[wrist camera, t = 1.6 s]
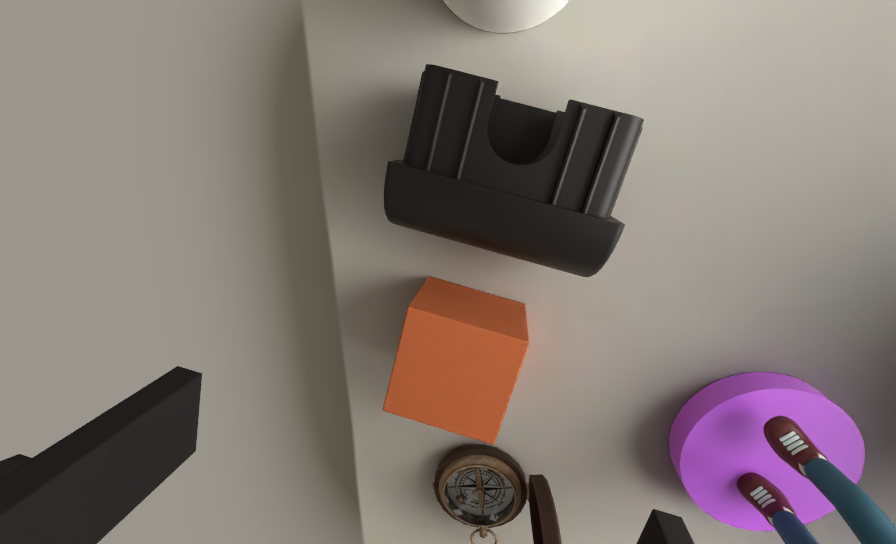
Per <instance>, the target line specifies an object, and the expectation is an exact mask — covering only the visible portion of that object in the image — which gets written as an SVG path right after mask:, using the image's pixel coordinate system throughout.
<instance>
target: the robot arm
mask: <svg viewBox="0 0 896 544" xmlns="http://www.w3.org/2000/svg"><path fill="white" fill-rule="evenodd" d="M201 379H202V373H198V372H195V371H192V370H189V369H185V368H182V367H179V366H177V367H176V368H174V369H172V370H171V371H169V372H168V373H166V374H165V375H163V376H161V377H160V378H158V379H157V380H155V381H153V382H152V383H150V384H149V385H147V386H146V387H144V388H142V389H141V390H139V391H138V392H136V393H134V394H133V395H131V396H130V397H128V398H127V399H125V400H124V401H122V402H120V403H119V404H117V405H115V406H114V407H112V408H111V409H109V410H108V411H106V412H104V413H103V414H101V415H100V416H98V417H96V418H95V419H93V420H92V421H90V422H89V423H87V424H85V425H84V426H82V427H81V428H79V429H77V430H76V431H74V432H73V433H71V434H70V435H68V436H66V437H65V438H63V439H62V440H60V441H58V442H57V443H55V444H54V445H52V446H51V447H49V448H47V449H46V450H45V451H43V452H41V453H39V454H38V455H37V456H35V457H33V458H30V457H27V456H24V455H21V454H19V455H16V456H13V457H10V458H8V459H5V460H2V461H0V544H97V543H98V542H99V541H100V540H101V539H102V538H103V537H104V536H105V535H107V533H108V532H110V531H111V530H112V529H113V528H114V527H115V526H116V525H117V524H118V523H119V522H120V521H121V520H123V519H124V518H125V517H126V516H127V515H128V514H129V513H130V512H131V511H132V510H133V509H134V508H135V507H136V506H137V505H138V504H140V503H141V502H142V501H143V500H144V499H145V498H146V497H147V496H148V495H149V494H150V493H151V492H152V491H153V490H154V489H155V488H157V487H158V486H159V485H160V484H161V483H162V482H163V481H164V480H165V479H166V478H167V477H168V476H169V475H170V474H172V473H173V472H174V471H175V470H176V469H177V468H178V467H179V466H180V465H181V464H182V463H183V462H184V461H185V460H186V459H188V457H190V456H191V455H192V454H193V453H194V452H195V451H196V440H197V428H198V416H199V403H200V391H201ZM637 544H694V542H693V540H692V538H691V536H690V534H689V532H688V530H687V528H686V526H685V524H684V521H683V519H682V517H678V516H675V515H672V514H668V513H665V512H662V511H658V510H655V509H653V510H652V512H651V514H650V517H649V519H648V521H647V523H646V525H645V527H644V529H643V531H642V533H641V535H640V538H639V540H638V542H637Z"/></svg>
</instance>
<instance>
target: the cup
mask: <svg viewBox="0 0 896 544" xmlns="http://www.w3.org/2000/svg"><path fill="white" fill-rule="evenodd" d="M443 1H444V3H445V4H446V5H447V6H448V8H449V9H450V10H451V11H452V12H453V13H454V14H455V15H457V16H458V17H459V18H460V19H462V20H463V21H465V22H466V23H468V24H470V25H472V26H474V27H476V28H479V29H481V30H485V31H488V32H495V33H513V32H519V31H523V30H527V29H530V28H532V27H535V26H537V25H539V24H541V23H543V22H545V21H546V20H548V19H549V18H551V17H552V16H553V15H555V14H556V13H557V12H559V11H560V10H561V9H562V8H563V7H564V6H565V5H566V4H567V3H568V2H569V0H443Z"/></svg>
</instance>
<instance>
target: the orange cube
mask: <svg viewBox="0 0 896 544" xmlns="http://www.w3.org/2000/svg"><path fill="white" fill-rule="evenodd" d="M528 345H529V338H528V329H527V319H526V310H525V304H523V303H520V302H516V301H513V300H509V299H506V298H502V297H499V296H496V295H492V294H489V293H485V292H482V291H478V290H475V289H471V288H468V287H464V286H461V285H458V284H454V283H451V282H447V281H444V280H440V279H437V278H433V277H430V276H428V278H427V279H426V281H425V282H424V284H423V285H422V287H421V288H420V290H419V291H418V293H417V294H416V296H415V297H414V299H413V300H412V302H411V303H410V305H409V306H408V309H407V313H406V317H405V321H404V325H403V329H402V333H401V337H400V341H399V346H398V350H397V354H396V358H395V362H394V366H393V370H392V374H391V378H390V382H389V386H388V390H387V394H386V398H385V402H384V406H383V411H386V412H389V413H392V414H396V415H399V416H402V417H405V418H409V419H412V420H415V421H418V422H421V423H425V424H428V425H431V426H434V427H437V428H441V429H444V430H447V431H450V432H454V433H457V434H460V435H463V436H466V437H470V438H473V439H476V440H479V441H482V442H486V443H489V444H492V445H494V443H495V440H496V438H497V435H498V432H499V429H500V426H501V423H502V420H503V417H504V414H505V411H506V409H507V406H508V403H509V400H510V397H511V394H512V391H513V388H514V385H515V382H516V380H517V377H518V374H519V371H520V368H521V365H522V362H523V359H524V356H525V353H526V351H527V348H528Z"/></svg>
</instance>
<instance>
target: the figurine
mask: <svg viewBox="0 0 896 544" xmlns="http://www.w3.org/2000/svg"><path fill="white" fill-rule="evenodd" d="M669 451H670V457H671V460H672V463H673V465H674V467H675V470H676V472H677V474H678V476H679V477H680V479H681V481H682V483H683V485H684V487H685V489H686V491H687V492H688V494H689V495H690V497H691V498H692V499H693V501H694V502H695V503H696V504H697V505H698V506H699V507H700V508H701V509H702V510H703V511H704V512H705V513H707V514H709V515H710V516H712V517H713V518H715V519H717V520H718V521H721V522H723V523H726V524H728V525H731V526H733V527H738V528H742V529H747V530H755V531H777V532H778V534H779V535H780V537H781V538H782V540H783V541H784V543H785V544H819V543H818V542H817V541H816V539H815V538H814V537H813V536H812V534H811V533H810V532H809V531H808V529H807V528H806V527H805V526H804V525H805V524H808V523H811V522H813V521H816V520H818V519H820V518H821V517H823V516H825V515H827V514H828V513H830V512H832V511H833V510H834V509H837V510H838V512H839V513H840V515H841V516H842V517H843V519H844V520H845V521H846V523H847V524H848V526H849V527H850V528H851V530H852V531H853V533H854V534H855V535H856V537H857V538H858V540H859V541H860V542H861V544H896V526H895V525H894V524H893V523H892V522H891V521H890V519H889V518H888V517H887V516H886V515H885V514H884V513H883V511H882V510H881V509H880V508H879V507H878V506H877V505H876V504H875V502H874V501H873V500H872V499H871V498H870V497H869V496H868V495H867V494H866V493H865V492H864V491H863V490H862V489H860V488H859V487H858V486H857V483H858V481H859V479H860V477H861V475H862V472H863V467H864V463H865V446H864V442H863V439H862V436H861V432H860V431H859V429H858V427H857V426H856V424H855V423H854V421H853V419H852V418H851V417H850V416H849V415H848V414H847V413H846V412H845V411H844V410H843V409H841V408H840V407H839V406H838V405H836V404H835V403H834V402H833V401H831V400H830V399H829V398H827V397H826V396H825V395H823V394H822V393H821V392H819V391H818V390H817V389H815V388H814V387H812V386H810V385H809V384H807V383H806V382H804V381H801V380H799V379H796V378H794V377H791V376H788V375H783V374H778V373H772V372H750V373H743V374H736V375H733V376H730V377H727V378H723V379H720V380H718V381H716V382H714V383H712V384H710V385H708V386H706V387H704V388H703V389H702V390H700V391H699V392H698V393H696V394H695V395H693V396H692V397H691V398H690V399H689V400H688V401H687V402H686V404H685V405H684V406H683V407H682V408H681V410H680V411H679V413H678V415H677V416H676V418H675V419H674V422H673V425H672V428H671V431H670V437H669Z"/></svg>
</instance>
